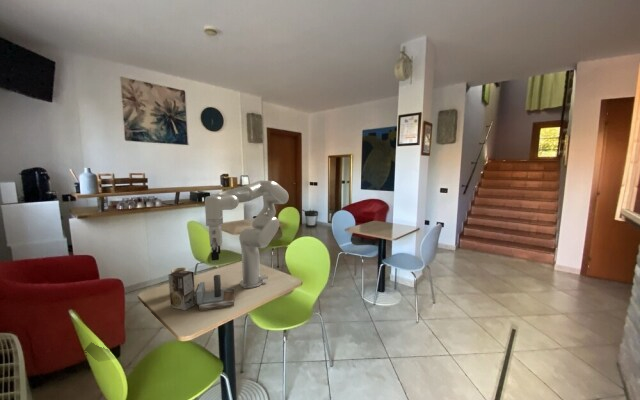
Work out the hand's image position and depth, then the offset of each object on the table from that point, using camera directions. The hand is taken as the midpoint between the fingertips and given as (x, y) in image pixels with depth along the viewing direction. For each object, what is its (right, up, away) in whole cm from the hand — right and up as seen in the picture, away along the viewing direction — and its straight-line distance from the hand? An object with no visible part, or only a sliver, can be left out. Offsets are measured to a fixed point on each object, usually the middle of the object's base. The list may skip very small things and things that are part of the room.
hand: (216, 256), depth 126 cm
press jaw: (-3, -21, +1) cm, 21 cm away
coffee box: (-15, -23, -2) cm, 27 cm away
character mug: (-23, -22, +10) cm, 33 cm away
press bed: (0, -22, +2) cm, 22 cm away
